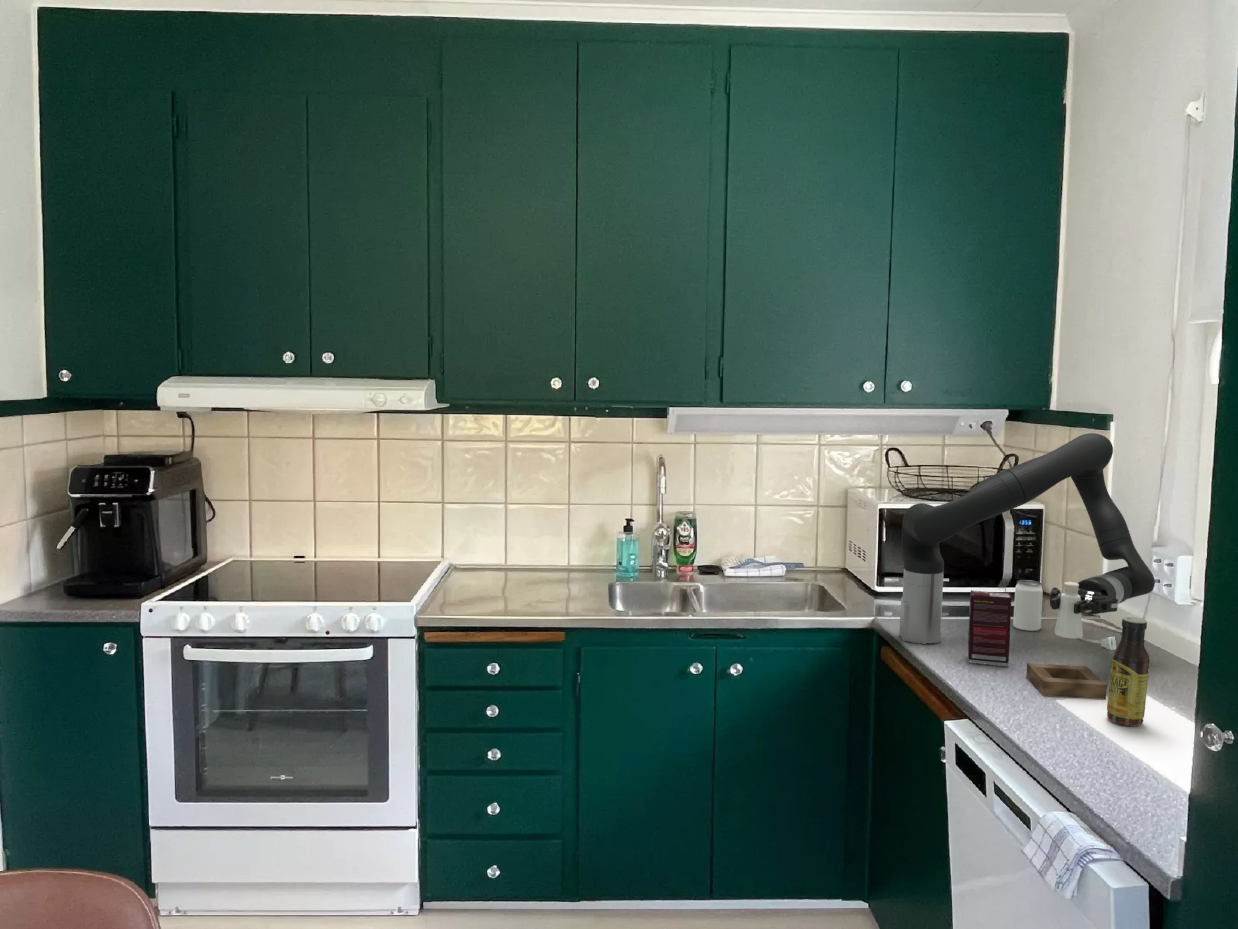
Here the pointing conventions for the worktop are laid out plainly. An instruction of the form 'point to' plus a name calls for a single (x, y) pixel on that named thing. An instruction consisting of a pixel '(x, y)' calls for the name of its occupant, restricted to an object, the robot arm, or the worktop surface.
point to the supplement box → (989, 628)
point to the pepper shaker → (1069, 613)
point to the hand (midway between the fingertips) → (1064, 606)
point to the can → (1028, 605)
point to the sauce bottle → (1129, 675)
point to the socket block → (1066, 681)
